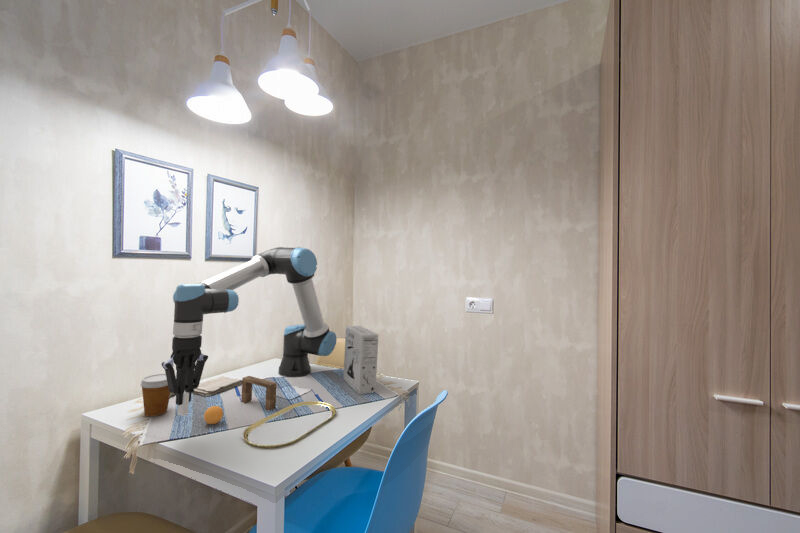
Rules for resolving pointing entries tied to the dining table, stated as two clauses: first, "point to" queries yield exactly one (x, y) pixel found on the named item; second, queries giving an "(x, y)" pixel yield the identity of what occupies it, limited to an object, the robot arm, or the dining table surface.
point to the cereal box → (360, 359)
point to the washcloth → (216, 386)
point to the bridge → (269, 385)
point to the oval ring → (281, 413)
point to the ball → (213, 415)
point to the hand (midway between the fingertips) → (182, 414)
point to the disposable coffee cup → (155, 394)
